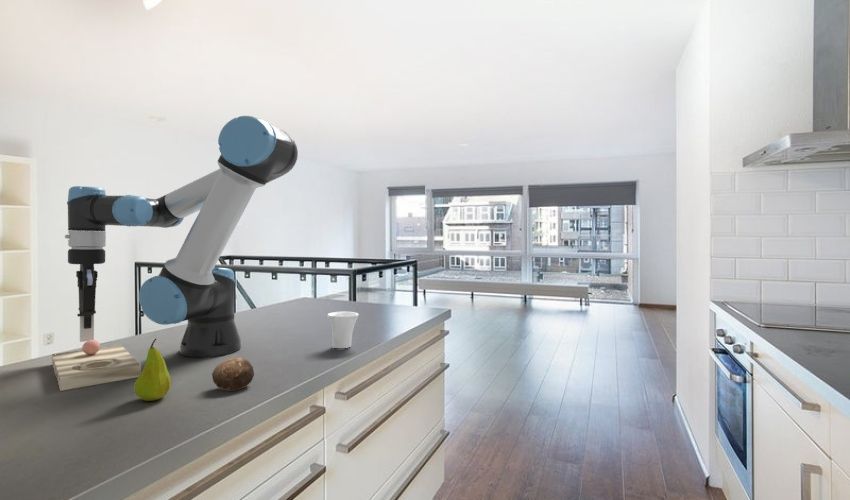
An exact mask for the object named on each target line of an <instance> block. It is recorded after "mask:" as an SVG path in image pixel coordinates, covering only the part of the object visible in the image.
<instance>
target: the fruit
mask: <svg viewBox="0 0 850 500" xmlns="http://www.w3.org/2000/svg"><path fill="white" fill-rule="evenodd" d="M156 341H157V338H154V340H153V341H152V342H151V345H150V348H149V349H148V351H147V356H146V360H145V362H144V363H145V364H144V366H143V369H142V370H141V374H140V376H139V377H137V379H136V380H135V382H134V384H133V385H134V387H133V388H134V389H133V391H134V395H135V396H136V397H138V398H139V399H141V400H143V401H145V402H147V401H148V402H150V401H152V402H153V401H157V400H160V399H161V398H163V397H164V396H165V395H167V394H168V391H169V390H170V388H171V385H172V378H171V374H170V373H169V370H168V367H167V364H166V360H165V359H164V357H163V355H162V354H161V352H160V351H158V349H156V347H153V346H154V344H155V342H156Z"/></svg>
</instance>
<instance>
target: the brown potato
mask: <svg viewBox="0 0 850 500" xmlns="http://www.w3.org/2000/svg"><path fill="white" fill-rule="evenodd" d="M254 375H255V371H254V367H253V365H252V363H251V362H250V361H249V360H248V359H246V358H243V357H233V358H229V359H227V360H224V361H222V362H221V363H219V364H218V365H217V366H216V367H215V368H214V370H213V371H212V373H211V377H212V382H213V383H214V385H215V386H216V387H217V388H219V389H221V390H223V391H227V392H228V391H230V392H234V391H237V390H241V389H243V388H246V387H247V386H248V385H249V384H250V383H252V381H253V378H254Z"/></svg>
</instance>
